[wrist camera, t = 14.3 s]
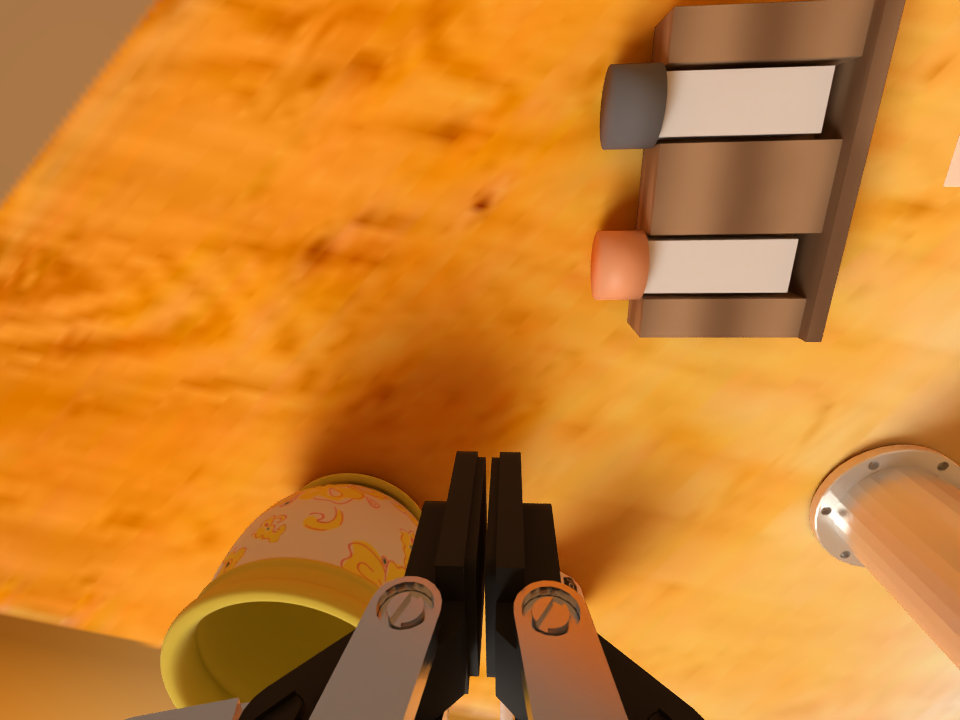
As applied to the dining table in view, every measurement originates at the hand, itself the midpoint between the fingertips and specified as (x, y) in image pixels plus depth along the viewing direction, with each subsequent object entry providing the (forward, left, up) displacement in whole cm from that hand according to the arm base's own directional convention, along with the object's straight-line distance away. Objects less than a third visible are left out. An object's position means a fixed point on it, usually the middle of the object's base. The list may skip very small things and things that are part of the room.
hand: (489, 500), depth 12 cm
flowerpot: (+14, +24, -27) cm, 39 cm away
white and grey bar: (-13, -12, -27) cm, 32 cm away
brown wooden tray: (-16, -7, -27) cm, 32 cm away
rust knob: (-13, -2, -26) cm, 30 cm away
